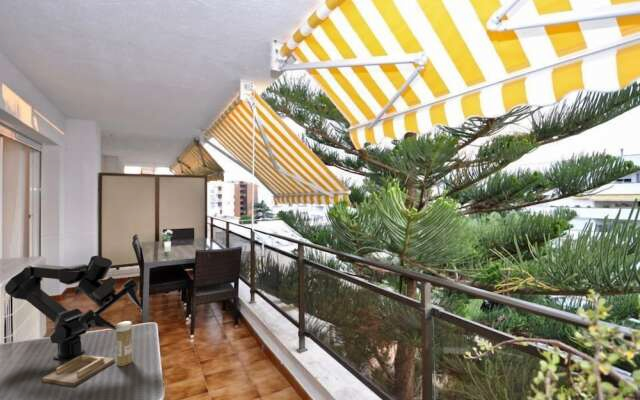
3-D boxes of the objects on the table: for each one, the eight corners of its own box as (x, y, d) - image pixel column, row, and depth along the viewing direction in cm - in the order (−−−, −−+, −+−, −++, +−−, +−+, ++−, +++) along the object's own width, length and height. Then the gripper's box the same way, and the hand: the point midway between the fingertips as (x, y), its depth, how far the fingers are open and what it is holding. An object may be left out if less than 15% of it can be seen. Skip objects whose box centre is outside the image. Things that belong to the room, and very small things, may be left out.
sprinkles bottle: (132, 363, 104) (132, 324, 103) (116, 368, 101) (115, 327, 101) (132, 357, 107) (131, 319, 107) (116, 361, 105) (115, 322, 105)
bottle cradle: (41, 381, 94) (41, 373, 94) (85, 357, 108) (85, 350, 108) (73, 386, 91) (73, 378, 91) (114, 361, 105) (114, 354, 105)
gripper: (60, 300, 94) (96, 331, 91) (118, 260, 107) (151, 286, 105) (69, 315, 102) (103, 344, 99) (122, 276, 115) (153, 301, 112)
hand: (128, 317), depth 104 cm, fingers open, 9 cm apart
